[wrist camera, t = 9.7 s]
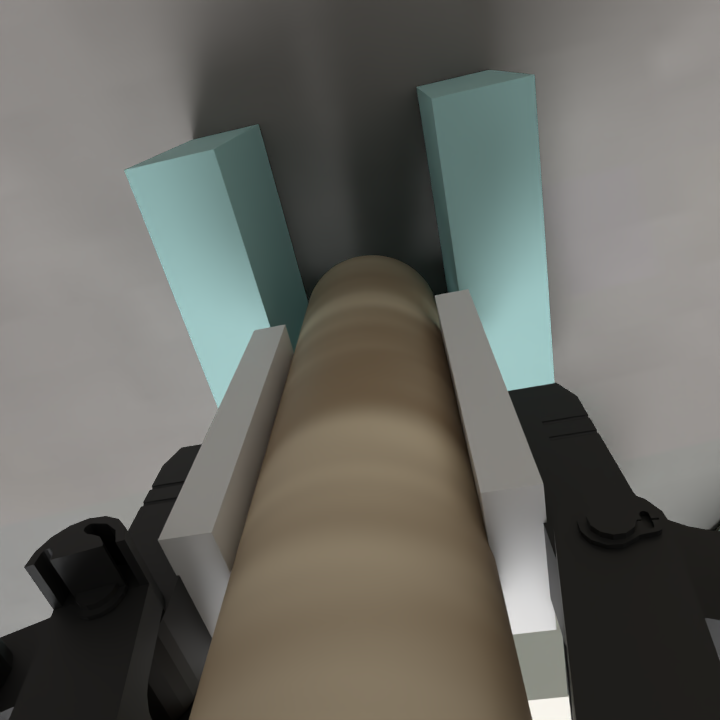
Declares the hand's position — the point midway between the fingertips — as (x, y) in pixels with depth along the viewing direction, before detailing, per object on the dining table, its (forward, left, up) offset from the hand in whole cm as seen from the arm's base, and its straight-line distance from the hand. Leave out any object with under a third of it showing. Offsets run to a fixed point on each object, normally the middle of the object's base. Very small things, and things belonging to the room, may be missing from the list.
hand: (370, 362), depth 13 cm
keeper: (0, 0, -7) cm, 7 cm away
